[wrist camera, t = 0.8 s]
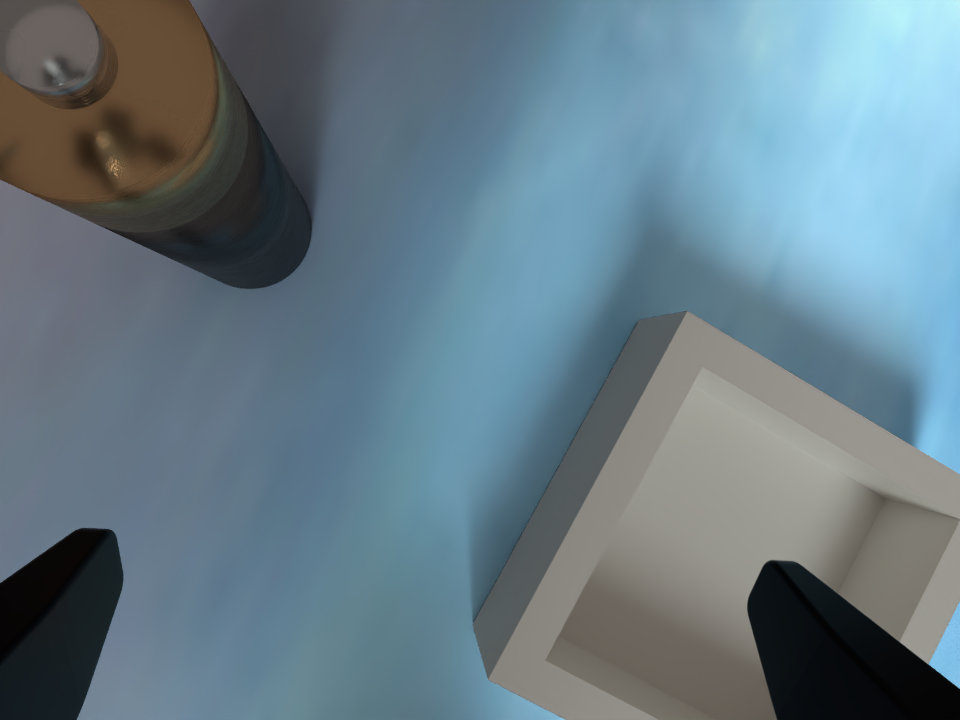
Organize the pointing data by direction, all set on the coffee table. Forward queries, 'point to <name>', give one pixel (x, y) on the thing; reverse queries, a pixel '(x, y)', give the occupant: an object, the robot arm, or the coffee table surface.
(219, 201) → the cell
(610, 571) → the bin
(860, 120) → the coffee table surface
